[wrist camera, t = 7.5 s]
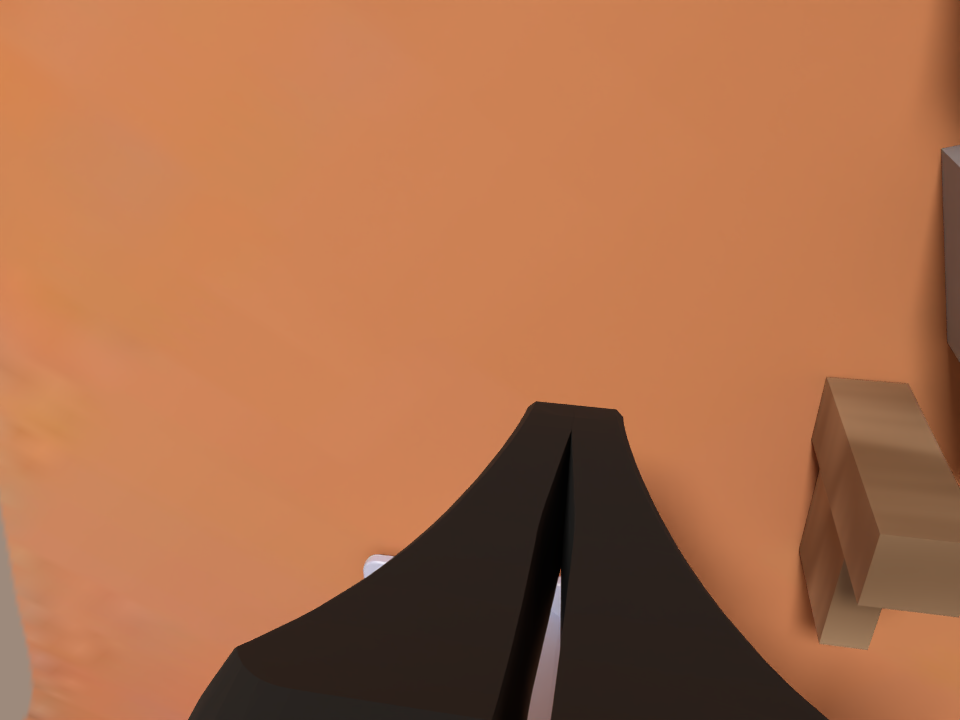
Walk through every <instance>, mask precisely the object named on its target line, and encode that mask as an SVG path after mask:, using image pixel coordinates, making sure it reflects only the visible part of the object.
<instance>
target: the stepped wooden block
mask: <svg viewBox="0 0 960 720" xmlns="http://www.w3.org/2000/svg"><path fill="white" fill-rule="evenodd" d="M812 443H813V446H814V450H815V453H816V457H817V461H818V464H819V468H820V470H819V474H818V478H817V482H816V486H815V490H814V493H813V497H812V501H811V505H810V509H809V513H808V517H807V521H806V525H805V529H804V533H803V537H802V540H801V544H800V548H799V552H800V557H801V562H802V566H803V571H804V576H805V580H806V585H807V590H808V594H809V599H810V604H811V608H812V613H813V618H814V622H815V627H816V632H817V636H818V641H819V644H825V645H833V646H840V647H848V648H856V649H864V650H868V648H869V645H870V642H871V639H872V636H873V633H874V630H875V627H876V624H877V621H878V618H879V615H880V612H881V609H882V608H885V609H893V610H901V611H910V612H918V613H926V614H934V615H943V616H951V617H959V616H960V488H959V486H958V484H957V482H956V480H955V478H954V476H953V474H952V472H951V469H950V467H949V465H948V463H947V461H946V459H945V457H944V455H943V453H942V451H941V449H940V447H939V445H938V443H937V441H936V439H935V437H934V435H933V433H932V431H931V429H930V427H929V425H928V423H927V421H926V419H925V417H924V414H923V412H922V410H921V408H920V406H919V404H918V402H917V400H916V398H915V396H914V394H913V392H912V390H911V388H910V386H909V384H905V383H893V382H881V381H869V380H857V379H845V378H832V377H827V378H826V382H825V386H824V391H823V395H822V399H821V403H820V407H819V411H818V415H817V419H816V423H815V427H814V432H813V436H812Z"/></svg>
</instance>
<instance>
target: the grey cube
mask: <svg viewBox="0 0 960 720" xmlns="http://www.w3.org/2000/svg"><path fill="white" fill-rule="evenodd" d="M941 155H942V187H943V219H944V251H945V283H946V314H947V343H948V344H949V346H950V347H951V349H952V351H953V352H954V354H955V356H956V357H957V359H958V361H959V362H960V145H957V146H952V147H947V148H942V149H941Z"/></svg>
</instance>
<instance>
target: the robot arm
mask: <svg viewBox="0 0 960 720" xmlns="http://www.w3.org/2000/svg"><path fill="white" fill-rule="evenodd" d="M560 569H561V577H559V573H560ZM363 572H364V579H363V580H362V581H360V582H359V583H357V584H355V585H354V586H352V587H351V588H349V589H347V590H346V591H344V592H342V593H341V594H339V595H338V596H336V597H334V598H333V599H331V600H329V601H328V602H326V603H324V604H323V605H321V606H320V607H318V608H316V609H314V610H312V611H311V612H309V613H307V614H305V615H303V616H301V617H299V618H297V619H295V620H293V621H291V622H289V623H287V624H285V625H283V626H281V627H279V628H276V629H274V630H272V631H270V632H268V633H266V634H264V635H262V636H260V637H258V638H255V639H253V640H251V641H249V642H247V643H244V644H242V645H240V646H237V647H236V648H235V649H234V650H233V652H232V653H231V654H230V656H229V657H228V659H227V660H226V661H225V663H224V664H223V666H222V667H221V668H220V670H219V671H218V673H217V674H216V675H215V677H214V678H213V680H212V681H211V683H210V684H209V685H208V687H207V688H206V690H205V691H204V693H203V694H202V696H201V697H200V699H199V701H198V703H197V704H196V706H195V708H194V710H193V712H192V713H191V715H190V717H189V719H188V720H828V719H827V718H826V717H825V716H824V715H823V714H821V713H820V712H819V711H818V710H817V709H816V708H815V707H813V706H812V705H811V704H810V703H809V702H808V701H806V700H805V699H804V698H803V697H802V696H801V695H800V694H798V693H797V692H796V691H795V690H794V689H793V688H792V687H791V686H790V685H789V684H788V683H786V682H785V681H784V679H783V678H782V677H781V676H780V675H779V674H778V673H777V672H776V671H775V670H774V669H773V668H772V667H771V666H770V665H769V664H768V663H767V662H766V661H765V660H764V659H763V658H762V657H761V656H760V654H759V653H758V652H757V651H756V650H755V649H754V648H753V646H752V645H751V644H750V643H749V642H748V641H747V640H746V638H745V637H744V636H743V635H742V634H741V633H740V632H739V630H738V629H737V628H736V627H735V626H734V625H733V623H732V622H731V621H730V620H729V619H728V618H727V617H726V615H725V614H724V613H723V612H722V610H721V609H720V608H719V606H718V605H717V604H716V602H715V601H714V600H713V598H712V597H711V596H710V594H709V593H708V592H707V590H706V589H705V588H704V586H703V585H702V583H701V582H700V581H699V579H698V578H697V576H696V575H695V573H694V572H693V570H692V569H691V567H690V566H689V565H688V563H687V561H686V560H685V558H684V557H683V555H682V554H681V552H680V550H679V549H678V547H677V545H676V544H675V542H674V540H673V539H672V537H671V535H670V533H669V531H668V530H667V528H666V526H665V524H664V522H663V521H662V519H661V517H660V515H659V513H658V511H657V509H656V507H655V505H654V503H653V501H652V499H651V497H650V495H649V492H648V490H647V488H646V486H645V484H644V481H643V479H642V477H641V475H640V472H639V470H638V467H637V465H636V462H635V460H634V457H633V454H632V451H631V449H630V445H629V442H628V439H627V435H626V432H625V427H624V422H623V416H622V415H621V414H620V413H619V412H618V411H617V410H616V409H606V408H596V407H586V406H576V405H567V404H557V403H547V402H537V401H536V402H535V403H533V404H532V405H530V406H529V407H528V408H527V410H526V412H525V414H524V416H523V418H522V419H521V421H520V423H519V424H518V426H517V427H516V429H515V430H514V432H513V433H512V435H511V436H510V437H509V439H508V440H507V442H506V443H505V444H504V446H503V447H502V448H501V450H500V451H499V452H498V454H497V455H496V456H495V457H494V459H493V460H492V461H491V462H490V463H489V465H488V466H487V467H486V468H485V470H484V471H483V472H482V473H481V475H480V476H479V477H478V478H477V479H476V480H475V482H474V483H473V484H472V485H471V486H470V487H469V488H468V489H467V490H466V491H465V492H464V493H463V494H462V495H461V497H460V498H459V499H458V500H457V501H456V502H455V503H454V504H453V505H452V506H451V507H450V508H449V509H448V510H447V511H446V512H445V513H444V514H443V515H442V516H441V517H440V518H439V519H438V520H437V521H436V522H435V523H434V524H433V525H431V526H430V527H429V528H428V529H427V530H426V531H425V532H424V533H422V534H421V535H420V536H419V537H418V538H417V539H415V540H414V541H413V542H412V543H411V544H410V545H408V546H407V547H406V548H405V549H403V550H402V551H401V552H399V553H398V554H397V555H396V556H387V555H372V556H370V557H369V558H368V559H367V560H366V563H365V565H364V569H363Z"/></svg>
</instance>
